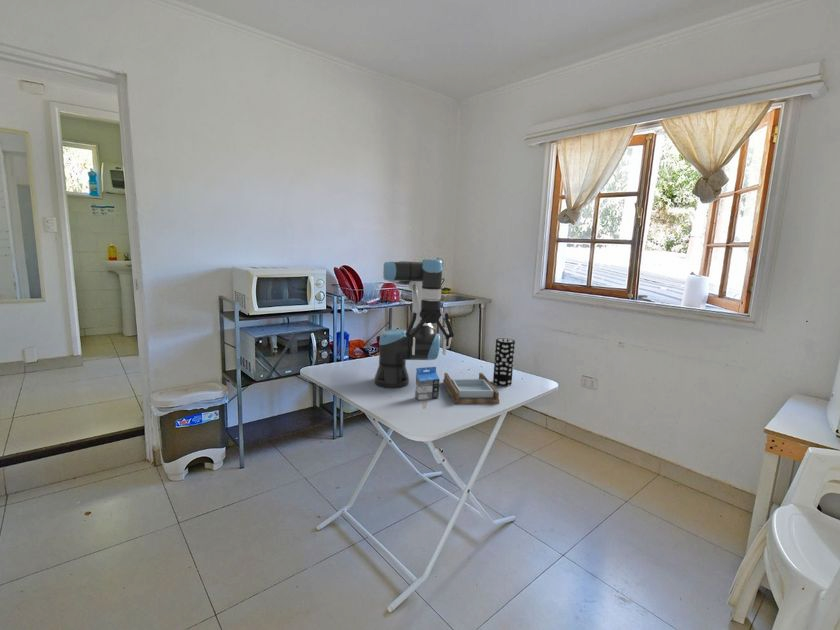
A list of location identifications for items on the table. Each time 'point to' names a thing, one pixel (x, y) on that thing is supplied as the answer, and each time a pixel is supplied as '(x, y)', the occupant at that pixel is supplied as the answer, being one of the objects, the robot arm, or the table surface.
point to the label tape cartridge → (427, 384)
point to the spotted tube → (503, 362)
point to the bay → (457, 400)
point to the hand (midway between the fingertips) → (428, 354)
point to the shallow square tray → (473, 388)
